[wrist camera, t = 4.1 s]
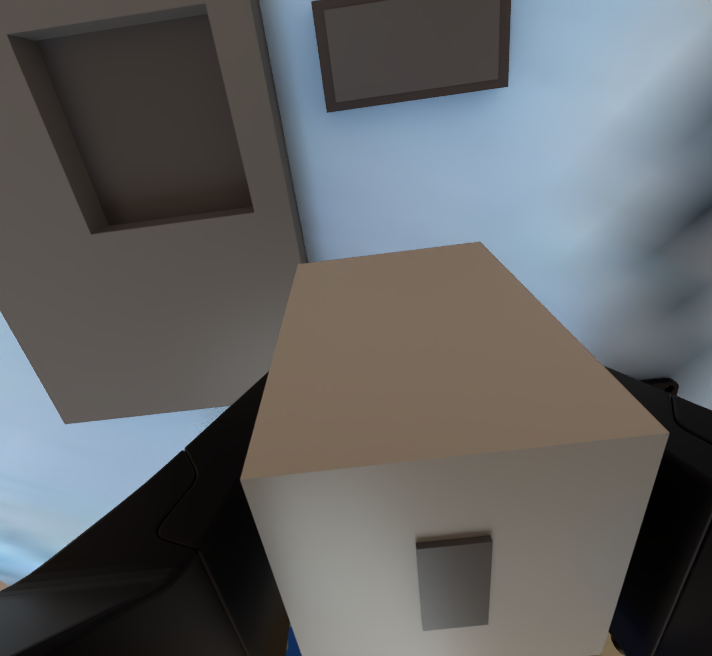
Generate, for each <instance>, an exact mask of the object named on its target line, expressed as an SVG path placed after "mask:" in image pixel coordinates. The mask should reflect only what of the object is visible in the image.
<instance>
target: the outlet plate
mask: <svg viewBox="0 0 712 656" xmlns="http://www.w3.org/2000/svg"><path fill="white" fill-rule="evenodd" d="M304 263H308V261H307V255H306V250H305V245H304V239H303V234H302V229H301V224H300V218H299V213H298V208H297V202H296V197H295V192H294V186H293V181H292V176H291V170H290V165H289V160H288V154H287V149H286V144H285V138H284V133H283V128H282V122H281V117H280V112H279V106H278V101H277V96H276V90H275V85H274V80H273V74H272V69H271V64H270V58H269V53H268V48H267V42H266V37H265V32H264V26H263V21H262V16H261V10H260V5H259V0H0V311H1V313H2V314H3V316H4V318H5V320H6V322H7V323H8V325H9V327H10V329H11V330H12V332H13V334H14V336H15V337H16V339H17V341H18V343H19V344H20V346H21V348H22V350H23V351H24V353H25V355H26V357H27V358H28V360H29V362H30V364H31V365H32V367H33V369H34V371H35V372H36V374H37V376H38V378H39V379H40V381H41V383H42V385H43V386H44V388H45V390H46V392H47V393H48V395H49V397H50V399H51V400H52V402H53V404H54V406H55V407H56V409H57V411H58V413H59V414H60V416H61V418H62V420H63V421H64V423H65V424H71V423H80V422H89V421H98V420H107V419H116V418H124V417H133V416H142V415H151V414H160V413H169V412H178V411H187V410H195V409H204V408H213V407H222V406H231V405H232V404H233V403H234V402H235V401H237V400H238V399H239V398H240V397H241V396H242V395H243V394H244V393H245V392H246V391H247V390H249V389H250V388H251V387H252V386H253V385H254V384H255V383H256V382H257V381H258V380H259V379H261V378H262V377H263V376H264V375H265V374H266V373H267V372H268V371H269V370H270V366H271V362H272V359H273V355H274V351H275V348H276V344H277V340H278V336H279V333H280V329H281V325H282V321H283V318H284V314H285V310H286V307H287V303H288V299H289V295H290V292H291V288H292V284H293V280H294V277H295V273H296V269H297V266H298V264H304Z"/></svg>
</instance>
